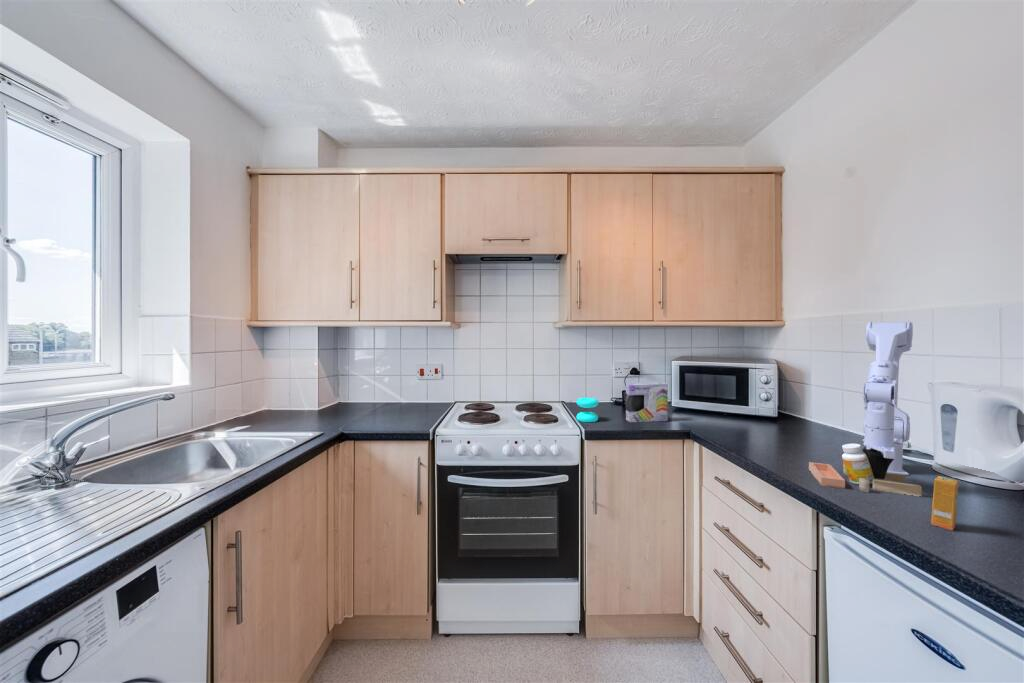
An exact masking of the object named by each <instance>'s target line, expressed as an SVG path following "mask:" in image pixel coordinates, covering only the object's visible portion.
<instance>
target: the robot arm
mask: <svg viewBox="0 0 1024 683" xmlns="http://www.w3.org/2000/svg"><path fill="white" fill-rule="evenodd" d="M865 326H866V328H865V338H866V343H867V346H868V348H869V350H870V351H873V352H875V360H874V361H872V362H870V364H869V367H868V374H867V380H866V383H864V384H863V386H862V399H863V408H864V410H865V411H864V418H863V434H864V438H863V439H864V440H863V446H865V447H866V448H863V449H862V452H864V453H865V454H866V455H867V457H868V460H869V463H870V466H871V469H872V472H873V476H874V478H875V479H884V478H885V476H886V473H887V472H889V473H897V474H904V475H906V476H909V473H908V472H907V471H906V470H904V469H903V461H904V460H903V458H904V456H903V454H904V453H903V452H904V449H903V448H904V442H906V443H907V441H909V440H910V438H911V437H910V436H911V423H910V419H911V418H910V416H909V414H908V413H906V412H905V411H904V410H902V409H901V408H899V407H898V396H899V394H898V392H899V370H900V359H901V357H902V355H903V353H906V352H909V351H911V348H912V346H913V335H914V334H913V333H914V328H913V327H914V326H913V323H912V322H911V321H910V320H908V321H888V322H887V321H881V322H880V321H877V322H874V321H873V322H872V321H869V322H868V323H866V325H865Z"/></svg>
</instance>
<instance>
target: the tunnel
mask: <svg viewBox="0 0 1024 683" xmlns="http://www.w3.org/2000/svg"><path fill="white" fill-rule="evenodd" d="M842 467H843V468H842V474H843V475H844V476H847V477H848V475H847V472H846V469H845V466H844V462H843V466H842ZM874 479H875V478H874ZM874 479H873V483H872V490H873V491H876V492H882V491H884V493H890V492H891V493H892V494H897V493H898V494H899V495H904V494H906V496H911V495H913V497H919V496H921V497H922V489H923V487H922V486H921V485H919V484H913V483H906V481H907V475H904V474H897V473H889V472H887V473H886V476H885V478H884V479H875V480H874ZM869 481H870V480H868V479H865V478H859V484H858V491H859V492H862V493H870V484H869Z"/></svg>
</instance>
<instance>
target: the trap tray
mask: <svg viewBox="0 0 1024 683" xmlns="http://www.w3.org/2000/svg"><path fill="white" fill-rule="evenodd" d="M808 470H809V471H811V472H810V473H811V474H812V476H813V477H814V478H815V479H816V481H817V482H818V483H819V485H820V486H822V487H827V488H828V487H829V488H836V489H842V490H843V489H844V490H845V489H846V480H845V479H844V478H843V476H841V475H840V473H839V472H838V471H837V470H836V469H835V468H834V467H833V466H832V465H831V464H828V463H820V462H812V461H809V462H808Z"/></svg>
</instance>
